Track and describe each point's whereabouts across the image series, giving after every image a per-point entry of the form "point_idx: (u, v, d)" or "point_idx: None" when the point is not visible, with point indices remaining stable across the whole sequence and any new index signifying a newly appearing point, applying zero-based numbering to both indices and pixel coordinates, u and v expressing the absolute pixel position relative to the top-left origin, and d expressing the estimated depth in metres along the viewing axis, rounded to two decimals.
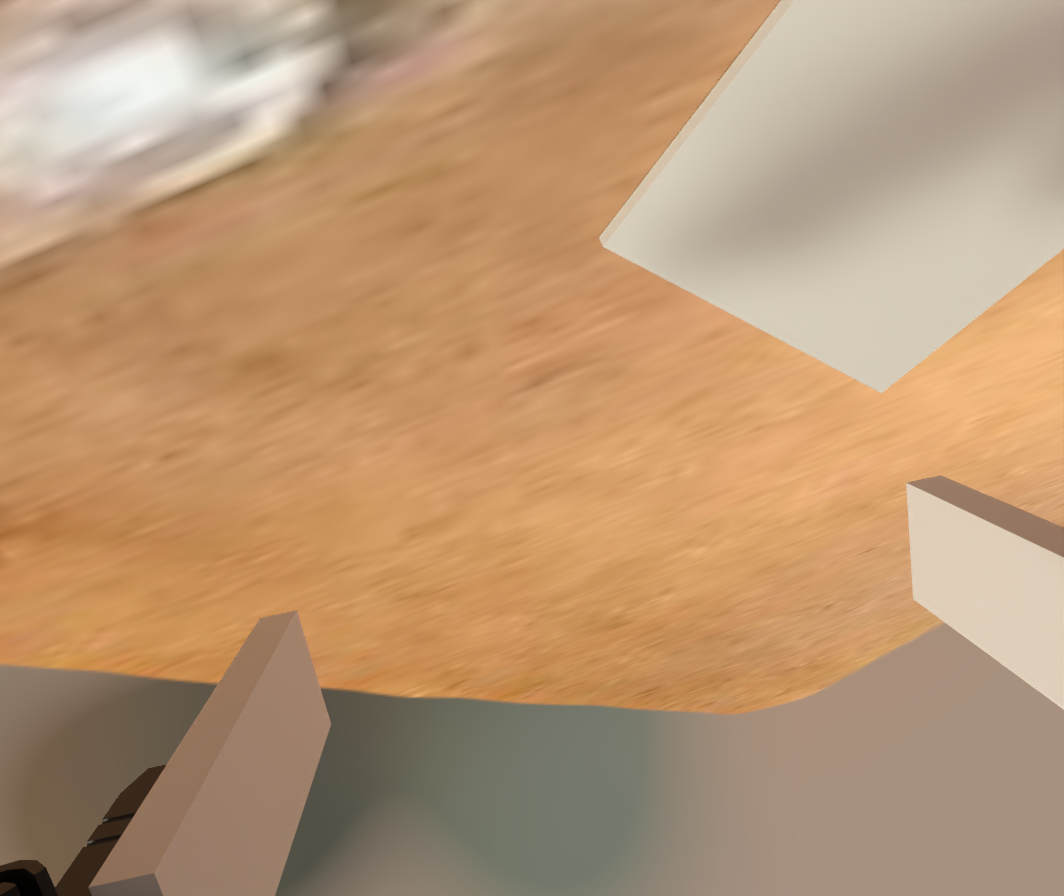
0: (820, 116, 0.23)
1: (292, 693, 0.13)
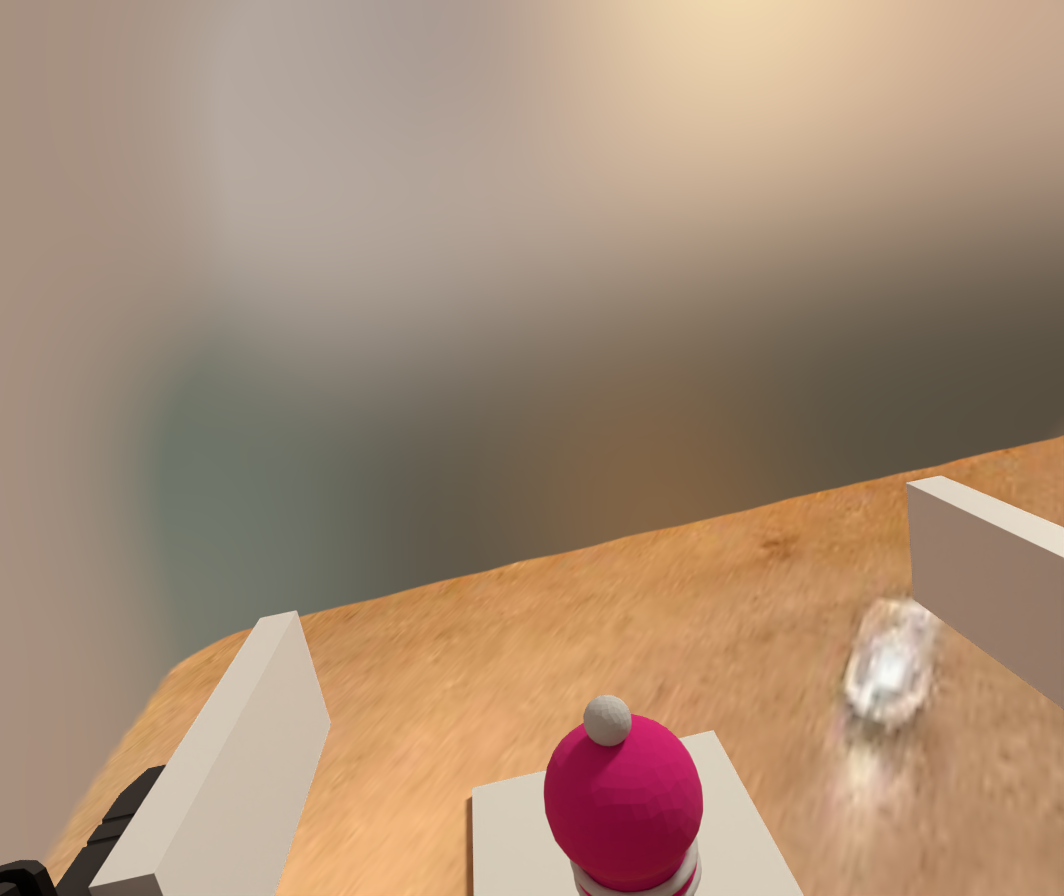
0: None
1: (292, 693, 0.13)
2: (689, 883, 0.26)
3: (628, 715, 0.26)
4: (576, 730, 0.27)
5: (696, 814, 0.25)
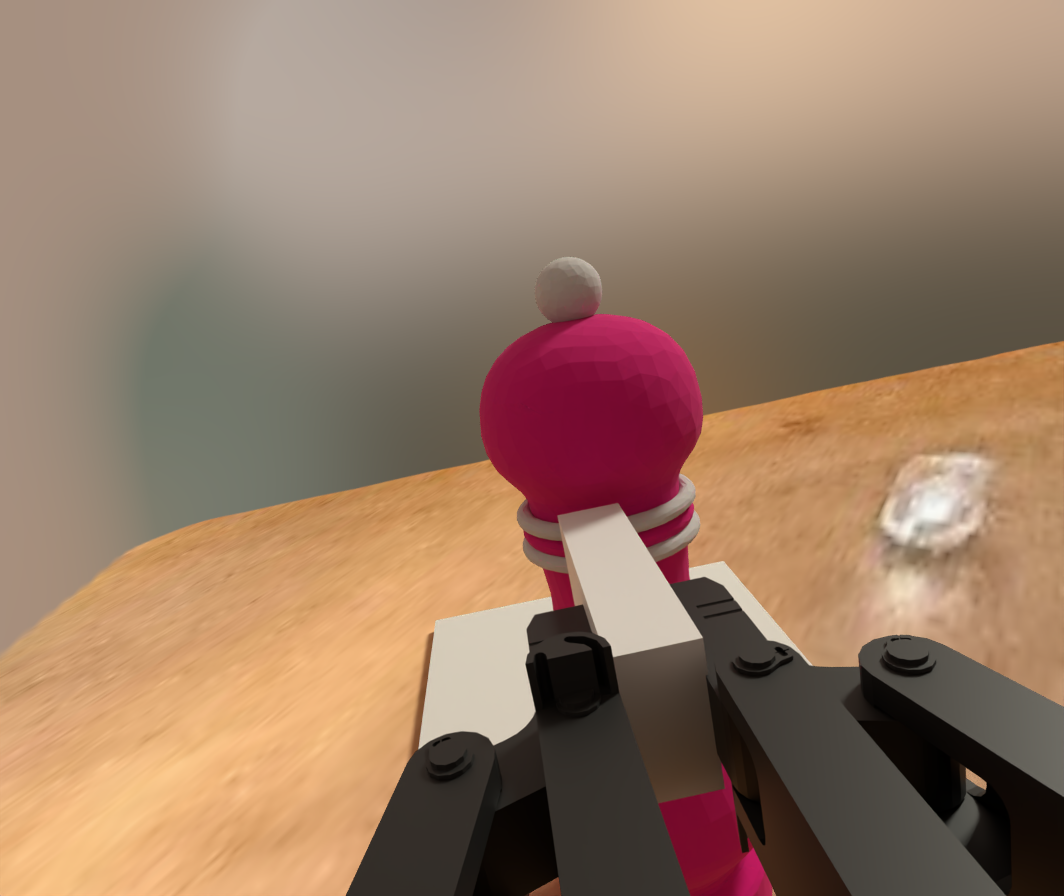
0: None
1: None
2: (681, 524, 0.18)
3: (597, 276, 0.18)
4: None
5: (691, 403, 0.17)
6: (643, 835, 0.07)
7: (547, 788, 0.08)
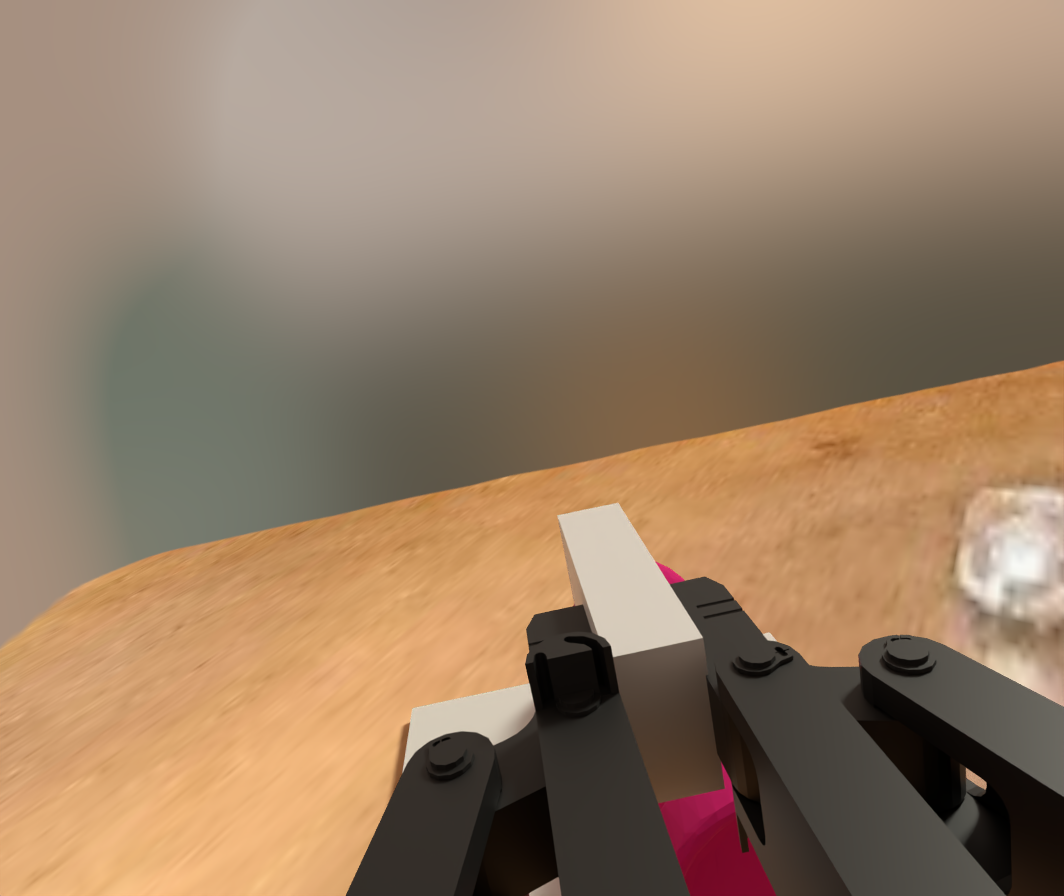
0: None
1: None
2: None
3: None
4: None
5: None
6: (643, 836, 0.07)
7: (547, 788, 0.08)
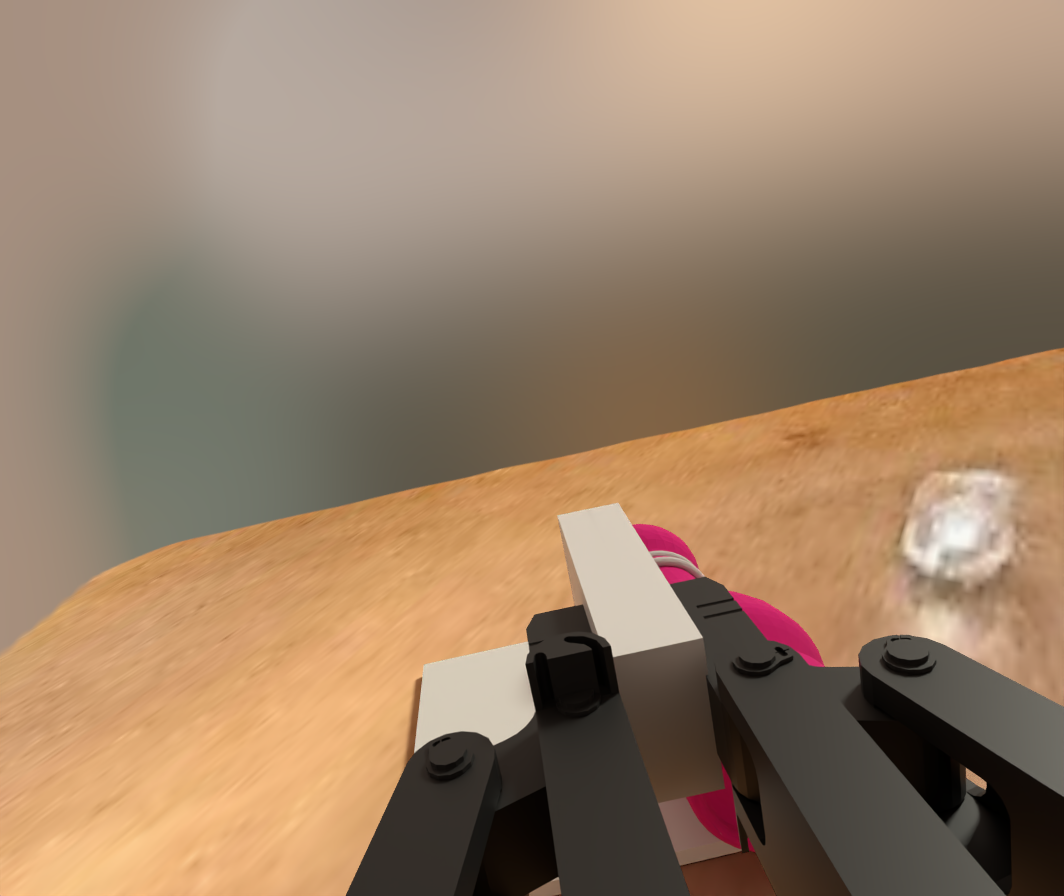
0: None
1: None
2: None
3: None
4: None
5: None
6: (643, 835, 0.07)
7: (547, 788, 0.08)
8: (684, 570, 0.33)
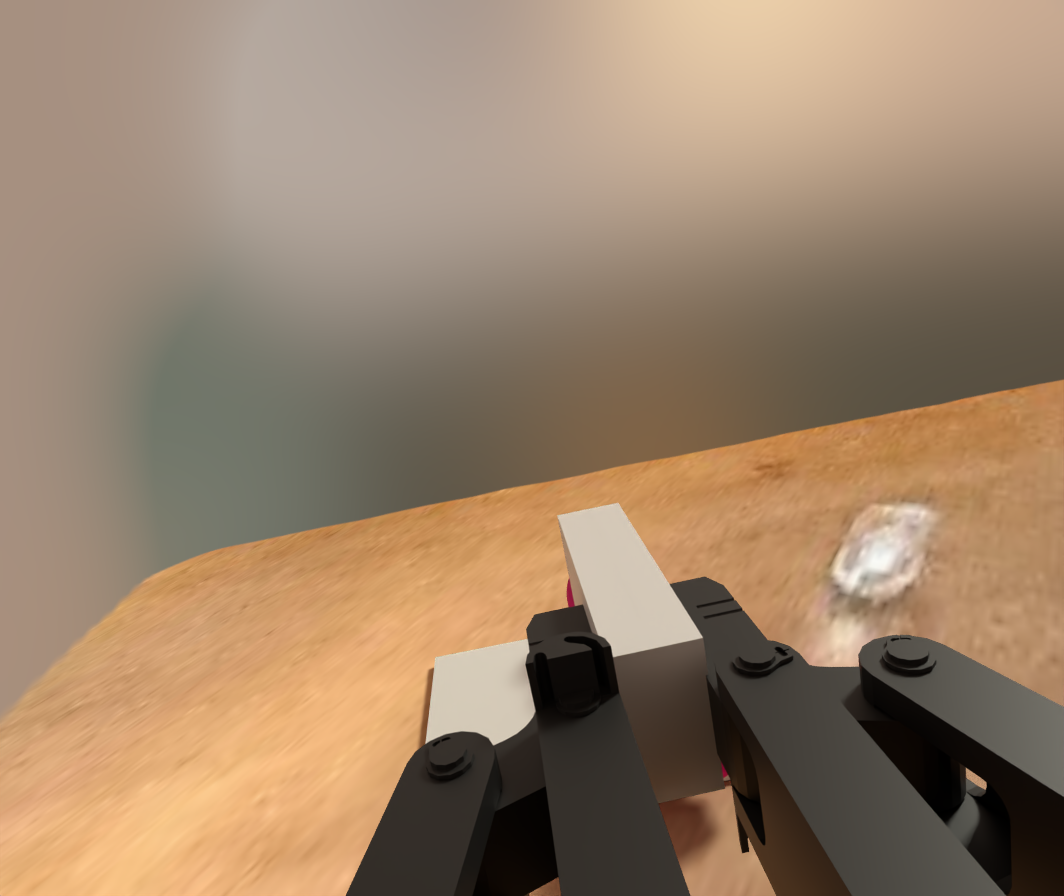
0: None
1: None
2: None
3: None
4: None
5: None
6: (643, 836, 0.07)
7: (547, 788, 0.08)
8: None
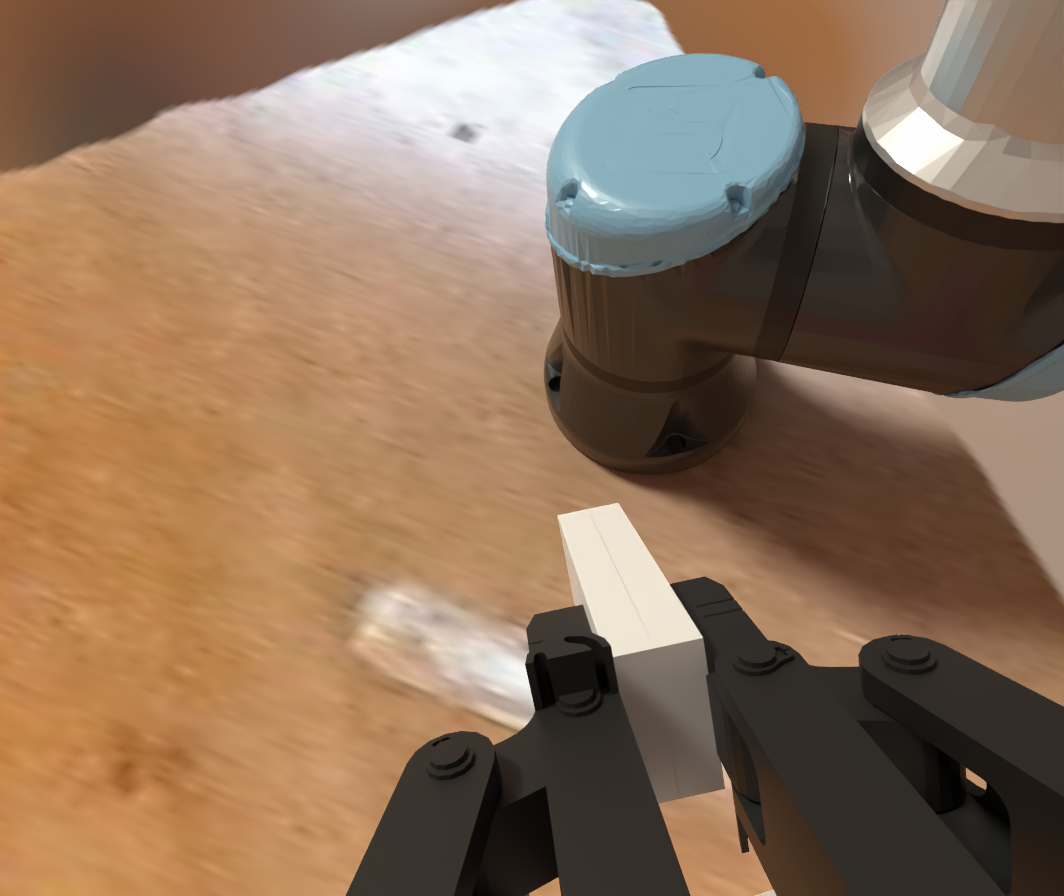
0: None
1: None
2: None
3: None
4: None
5: None
6: (643, 835, 0.07)
7: (547, 788, 0.08)
8: None
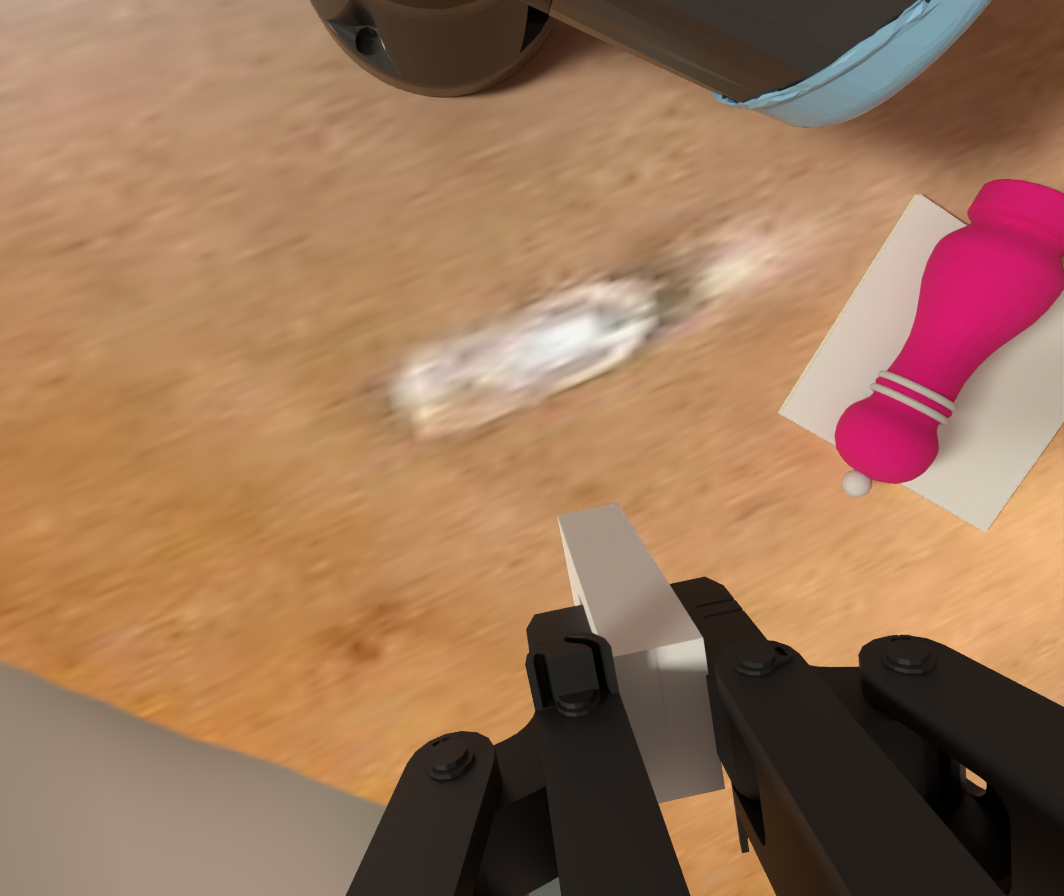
0: (886, 342, 0.46)
1: None
2: (877, 379, 0.44)
3: (842, 479, 0.46)
4: None
5: (840, 417, 0.45)
6: (643, 835, 0.07)
7: (547, 788, 0.08)
8: (918, 382, 0.42)
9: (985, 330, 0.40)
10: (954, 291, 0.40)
